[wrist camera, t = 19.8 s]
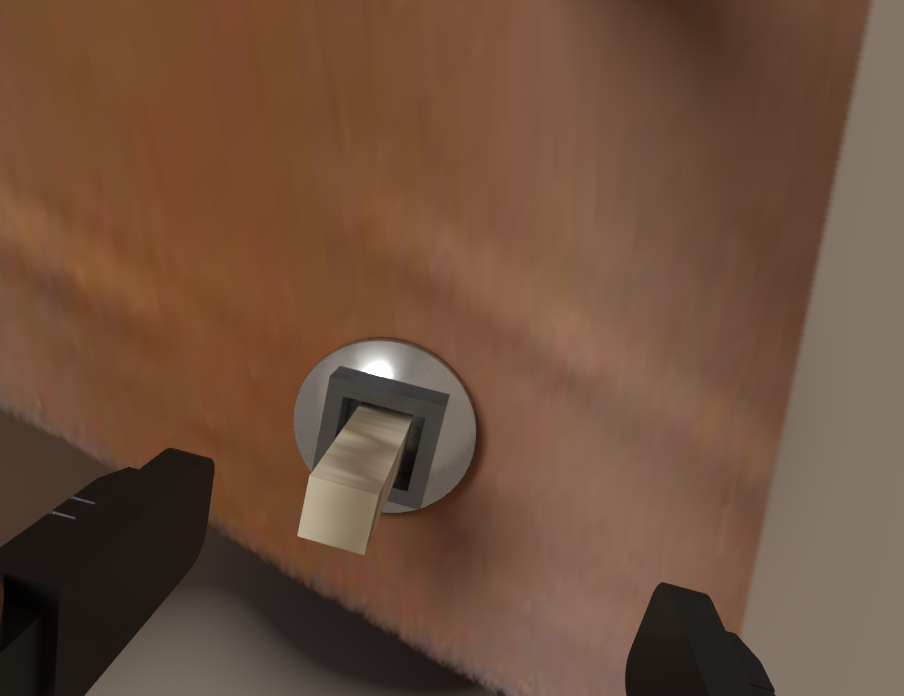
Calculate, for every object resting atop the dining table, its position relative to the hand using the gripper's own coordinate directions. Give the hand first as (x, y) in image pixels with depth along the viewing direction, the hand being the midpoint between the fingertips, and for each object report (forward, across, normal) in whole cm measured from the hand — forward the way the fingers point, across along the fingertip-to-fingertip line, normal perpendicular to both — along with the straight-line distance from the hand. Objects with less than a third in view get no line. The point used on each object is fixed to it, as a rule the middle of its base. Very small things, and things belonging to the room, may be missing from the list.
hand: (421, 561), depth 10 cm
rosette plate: (+33, +5, +13) cm, 36 cm away
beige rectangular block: (+32, +5, +13) cm, 35 cm away
